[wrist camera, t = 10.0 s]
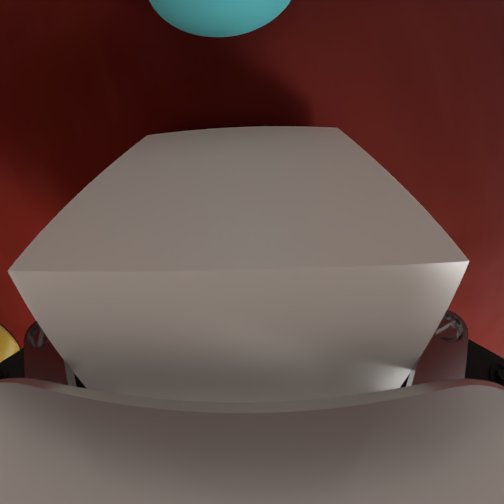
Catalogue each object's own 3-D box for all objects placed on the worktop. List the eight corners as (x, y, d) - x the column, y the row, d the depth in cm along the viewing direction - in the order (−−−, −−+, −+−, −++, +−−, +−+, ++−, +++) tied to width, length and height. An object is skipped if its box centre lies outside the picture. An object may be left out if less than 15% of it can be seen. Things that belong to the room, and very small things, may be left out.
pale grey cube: (337, 127, 11) (469, 260, 4) (322, 277, 15) (358, 439, 8) (147, 135, 11) (7, 270, 4) (175, 280, 16) (136, 440, 8)
